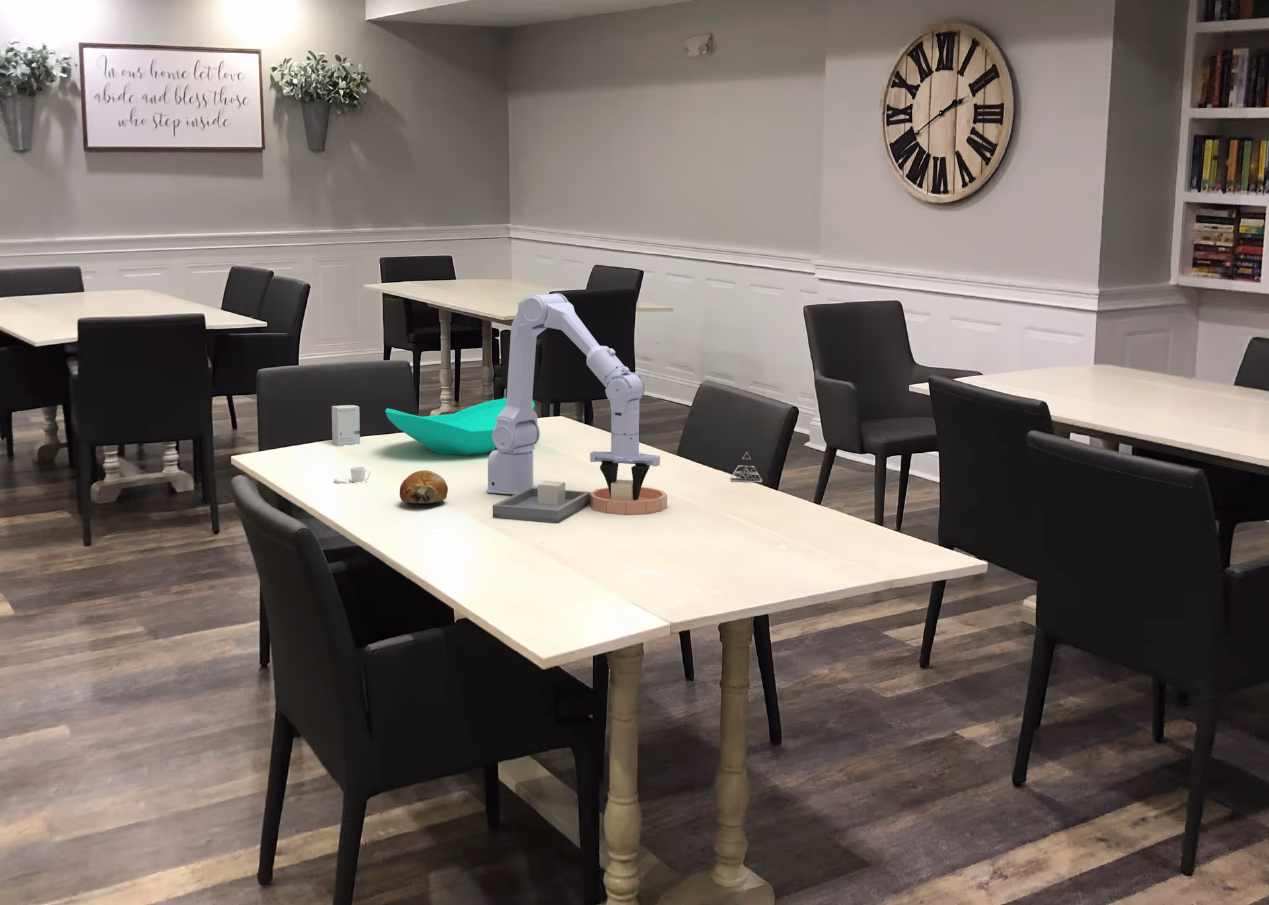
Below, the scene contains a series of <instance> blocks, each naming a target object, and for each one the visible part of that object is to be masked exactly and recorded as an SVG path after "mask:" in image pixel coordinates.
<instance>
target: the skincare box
mask: <svg viewBox="0 0 1269 905" xmlns="http://www.w3.org/2000/svg"><path fill="white" fill-rule="evenodd" d="M360 415H361V414H360V406H358V405H354V404H347V405H345V404H344V405H343V404H342V405H332V406H331V430H332V431H331V432H332V433H331V434H332V439H331V440H332V441H331V442H332V445H334V446H336V447H345V446H344V445H348V446H354V445H355V444H357V445H360V444H361V433H360V432H361V430H360V428H361V427H360V426H361V424H360V423H361V422H360V420H361V419H360ZM355 446H356V445H355Z"/></svg>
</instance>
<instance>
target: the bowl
mask: <svg viewBox="0 0 1269 905" xmlns="http://www.w3.org/2000/svg"><path fill="white" fill-rule="evenodd" d="M590 492H591V493H590V505H589V506H590V507H591V509H592V510H593V511H598V512H600V513H601V512H602V513H604V514H615V515H629V516H630V515H647V514H652V513H657V512H658V513H659V512H661V511H663V510H665V509H666V508H667V507H668V494H667V493H666V492H665V491H664V490H661V489H657V488H653V487H649V486H648V487H647V486H646V487H645V486H641V490H640V495H639V499H638V500H637V501H617V500H611V498H610V493H609V488H608V486H607V487H603V488H596V489H595V490H593V491H590Z"/></svg>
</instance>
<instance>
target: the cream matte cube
mask: <svg viewBox="0 0 1269 905" xmlns="http://www.w3.org/2000/svg"><path fill="white" fill-rule="evenodd" d="M611 500H617V501H637V500H638V499H637V500H633V479H632V480H631V479H618V478H617V480H616V481H614V482H613V483H611Z"/></svg>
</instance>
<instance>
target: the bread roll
mask: <svg viewBox="0 0 1269 905" xmlns="http://www.w3.org/2000/svg"><path fill="white" fill-rule="evenodd" d="M448 491H449V487H448V484H447V482H446V480H445V478H443V477H442V476H441V475H440V474H438V473H436V472H434V471H431V470H429V469H428V470H427V469H426V470H417V471H414V472H412V473H410V474H409V475H408V476H407V477H406V478H405V479H403V481H402V482H401V484H400V488H399V498H400V500H401V501H402V502H403V503H409V504H433V503H441V502H442V501H444V500H446V499H447V496H448Z"/></svg>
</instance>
